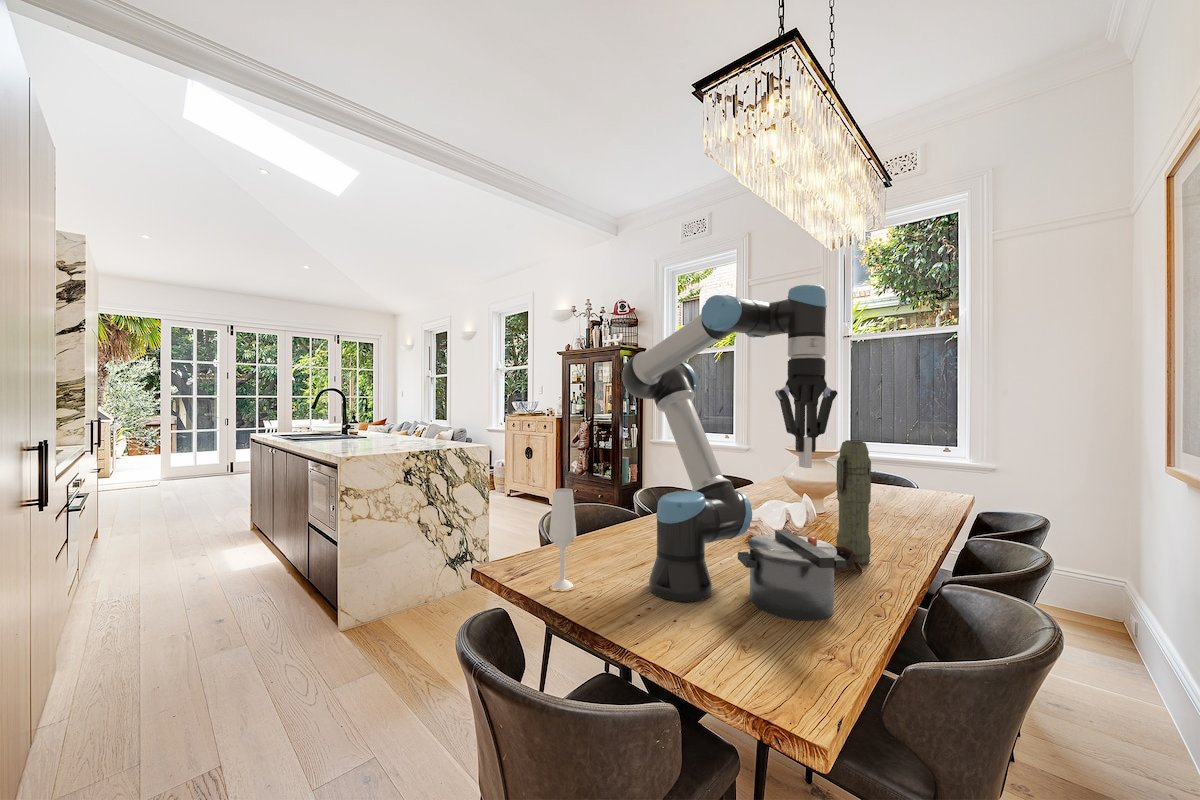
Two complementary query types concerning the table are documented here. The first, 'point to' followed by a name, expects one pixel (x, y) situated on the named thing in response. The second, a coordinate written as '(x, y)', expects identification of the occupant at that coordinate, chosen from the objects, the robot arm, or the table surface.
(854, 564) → the pottery mug
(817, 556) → the lid
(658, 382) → the robot arm
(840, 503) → the thermos
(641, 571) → the table surface
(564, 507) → the champagne flute
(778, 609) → the pot
